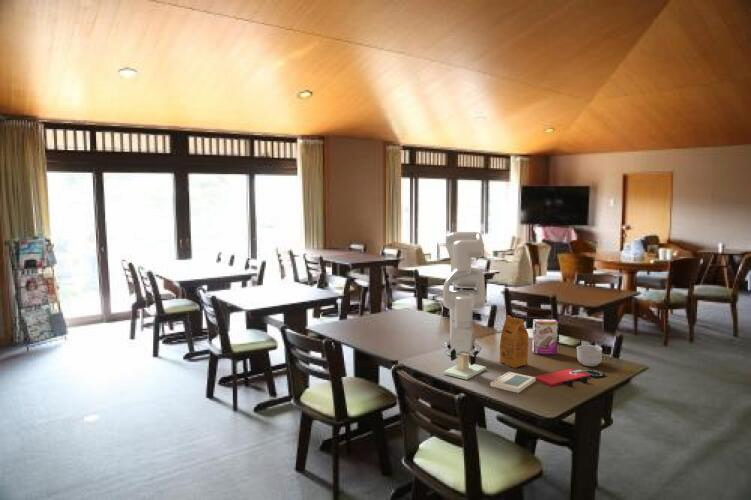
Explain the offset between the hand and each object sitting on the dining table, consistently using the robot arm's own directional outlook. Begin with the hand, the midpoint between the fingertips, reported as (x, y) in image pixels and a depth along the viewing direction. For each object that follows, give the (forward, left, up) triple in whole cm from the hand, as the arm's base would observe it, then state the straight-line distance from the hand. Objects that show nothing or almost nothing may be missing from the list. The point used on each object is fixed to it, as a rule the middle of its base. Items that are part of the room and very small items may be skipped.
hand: (462, 362), depth 229 cm
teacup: (+41, +45, -4) cm, 61 cm away
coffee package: (+13, +23, -4) cm, 27 cm away
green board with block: (+1, -1, -4) cm, 4 cm away
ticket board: (+24, -1, -4) cm, 24 cm away
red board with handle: (+40, +21, -5) cm, 45 cm away
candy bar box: (+18, +48, -4) cm, 52 cm away
